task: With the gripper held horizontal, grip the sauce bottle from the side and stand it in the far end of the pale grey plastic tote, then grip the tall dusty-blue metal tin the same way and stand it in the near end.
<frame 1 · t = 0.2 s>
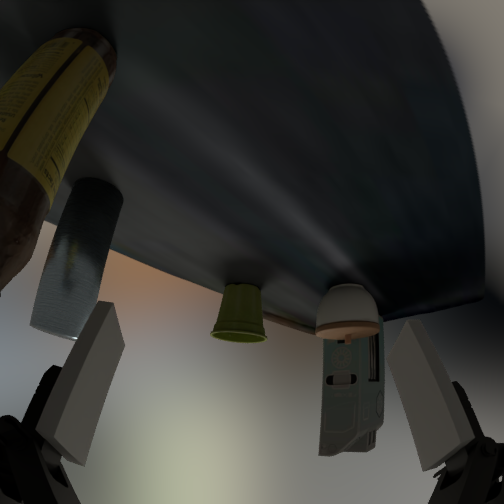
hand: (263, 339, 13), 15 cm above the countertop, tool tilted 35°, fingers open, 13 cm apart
plant pot: (242, 287, 52), on the countertop
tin: (97, 195, 29), on the countertop
lidded jar: (346, 288, 50), on the countertop
device: (355, 309, 62), on the countertop
sauce bottle: (83, 60, 15), on the countertop
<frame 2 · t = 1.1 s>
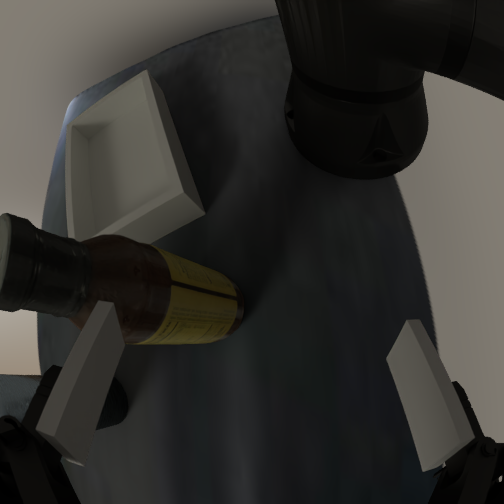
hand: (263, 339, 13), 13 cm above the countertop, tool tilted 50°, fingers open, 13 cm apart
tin: (106, 399, 27), on the countertop
tote: (131, 168, 35), on the countertop
sauce bottle: (216, 310, 27), on the countertop
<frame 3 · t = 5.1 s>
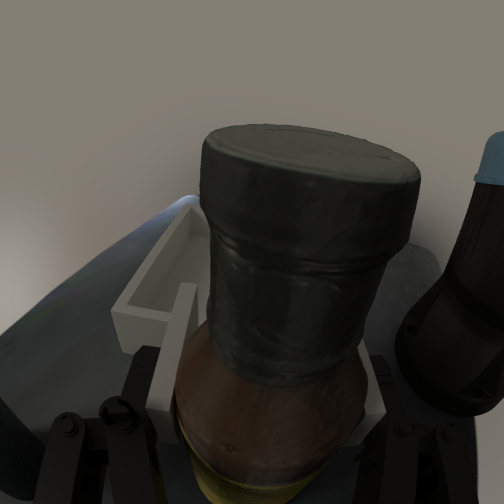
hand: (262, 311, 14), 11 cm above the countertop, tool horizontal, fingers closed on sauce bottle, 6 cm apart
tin: (20, 465, 12), on the countertop
tote: (221, 289, 33), on the countertop
sauce bottle: (245, 482, 16), on the countertop, touching gripper
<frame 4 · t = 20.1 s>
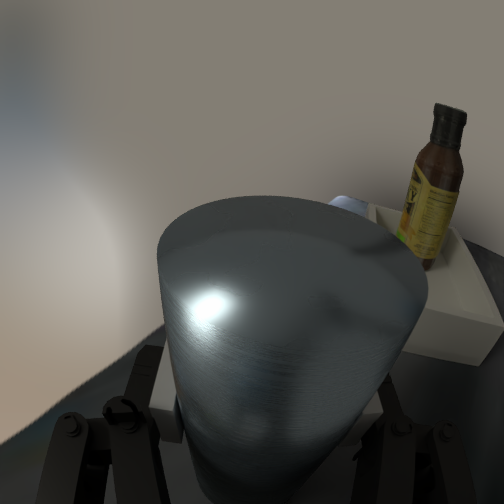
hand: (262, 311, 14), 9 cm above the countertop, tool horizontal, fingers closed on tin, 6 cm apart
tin: (248, 471, 14), on the countertop, touching gripper
tote: (412, 287, 32), on the countertop
sauce bottle: (410, 261, 35), point 1 cm above the countertop, touching tote
when the fingers open (11 cm above the countertop, at t = 26.5 s): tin drops 1 cm, resting on tote.
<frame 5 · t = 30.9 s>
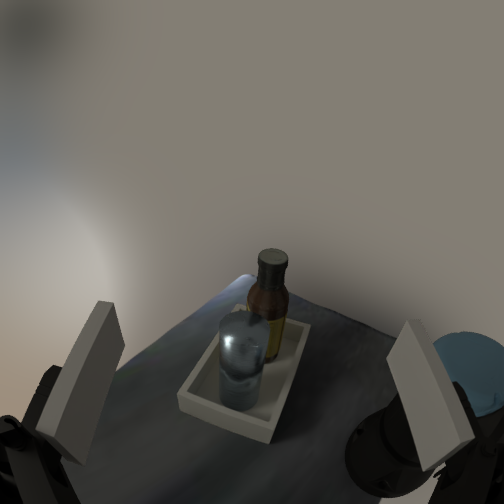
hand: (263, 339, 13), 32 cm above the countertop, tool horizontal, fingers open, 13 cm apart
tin: (238, 395, 43), point 1 cm above the countertop, touching tote
tote: (249, 375, 47), on the countertop
sauce bottle: (260, 352, 51), point 1 cm above the countertop, touching tote
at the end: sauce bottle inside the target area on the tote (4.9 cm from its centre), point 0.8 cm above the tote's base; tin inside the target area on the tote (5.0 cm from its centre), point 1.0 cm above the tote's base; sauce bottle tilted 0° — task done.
